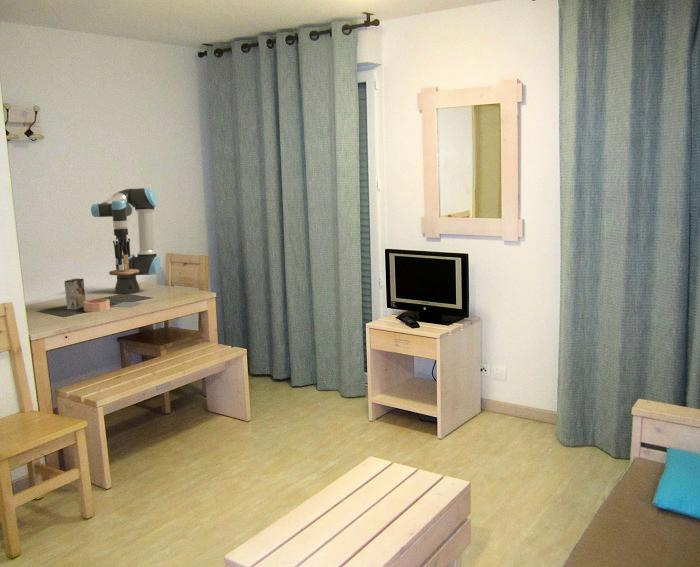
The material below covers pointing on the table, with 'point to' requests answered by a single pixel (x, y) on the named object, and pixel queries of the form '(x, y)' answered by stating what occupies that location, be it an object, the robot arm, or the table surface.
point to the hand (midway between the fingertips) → (123, 269)
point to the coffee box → (75, 293)
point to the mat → (127, 304)
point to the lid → (126, 268)
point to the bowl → (96, 305)
